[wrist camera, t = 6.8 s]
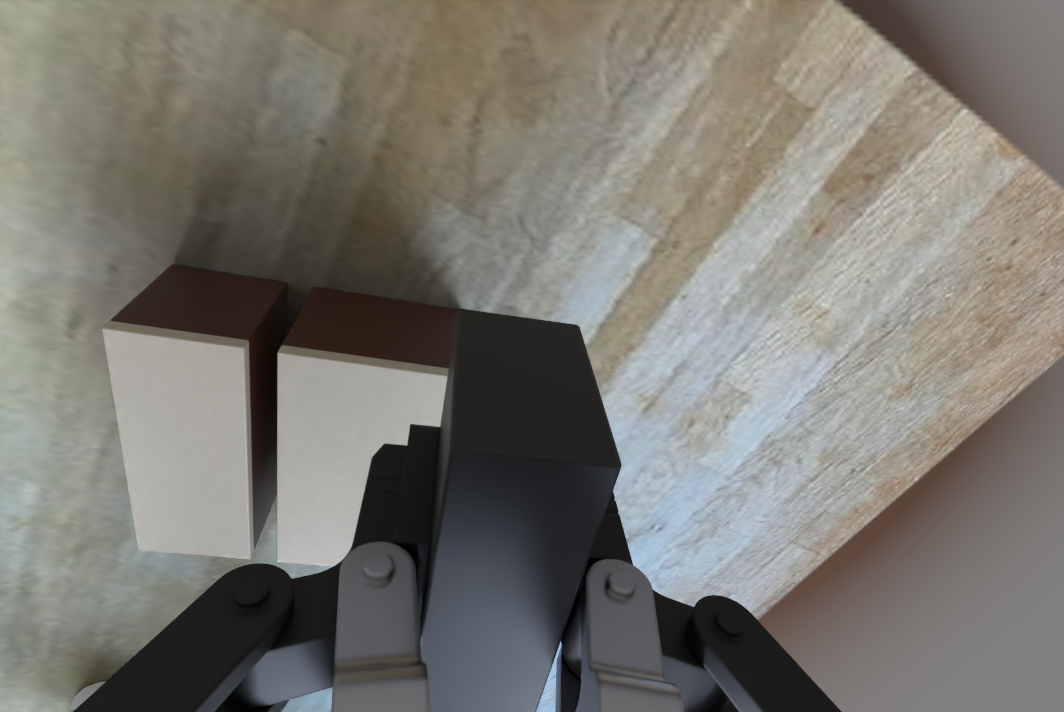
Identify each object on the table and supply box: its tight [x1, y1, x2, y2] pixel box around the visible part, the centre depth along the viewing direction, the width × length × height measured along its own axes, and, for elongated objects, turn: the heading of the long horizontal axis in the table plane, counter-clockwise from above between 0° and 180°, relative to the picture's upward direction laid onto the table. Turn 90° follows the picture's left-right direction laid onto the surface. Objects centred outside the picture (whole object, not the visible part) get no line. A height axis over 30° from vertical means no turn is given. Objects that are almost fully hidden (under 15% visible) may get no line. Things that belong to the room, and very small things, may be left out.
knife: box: [419, 309, 621, 712], centre depth 15 cm, size 19×3×4 cm, turn 169°
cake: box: [277, 287, 458, 567], centre depth 30 cm, size 12×7×6 cm, turn 168°
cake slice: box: [102, 265, 287, 559], centre depth 28 cm, size 12×5×6 cm, turn 168°
